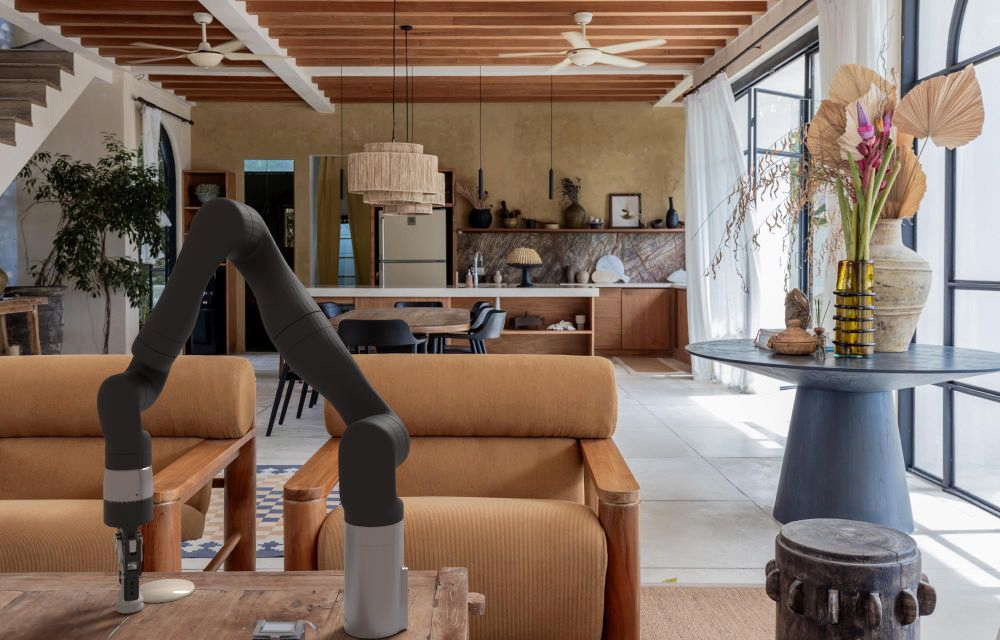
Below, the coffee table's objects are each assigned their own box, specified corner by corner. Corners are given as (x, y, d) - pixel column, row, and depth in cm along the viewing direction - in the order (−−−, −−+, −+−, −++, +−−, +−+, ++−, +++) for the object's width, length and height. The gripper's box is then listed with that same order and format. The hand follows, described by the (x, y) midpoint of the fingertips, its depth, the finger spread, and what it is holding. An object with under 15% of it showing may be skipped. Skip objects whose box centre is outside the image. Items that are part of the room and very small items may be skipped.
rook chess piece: (133, 615, 138) (133, 566, 138) (108, 613, 139) (108, 564, 139) (150, 605, 143) (149, 557, 142) (126, 603, 144) (125, 555, 143)
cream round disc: (189, 578, 156) (189, 575, 156) (198, 596, 147) (198, 593, 147) (129, 587, 151) (129, 584, 151) (135, 606, 142) (135, 603, 142)
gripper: (158, 501, 136) (158, 602, 136) (148, 482, 148) (148, 574, 149) (106, 506, 132) (106, 610, 133) (100, 486, 145) (100, 581, 145)
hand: (128, 591), depth 141 cm, fingers open, 8 cm apart
